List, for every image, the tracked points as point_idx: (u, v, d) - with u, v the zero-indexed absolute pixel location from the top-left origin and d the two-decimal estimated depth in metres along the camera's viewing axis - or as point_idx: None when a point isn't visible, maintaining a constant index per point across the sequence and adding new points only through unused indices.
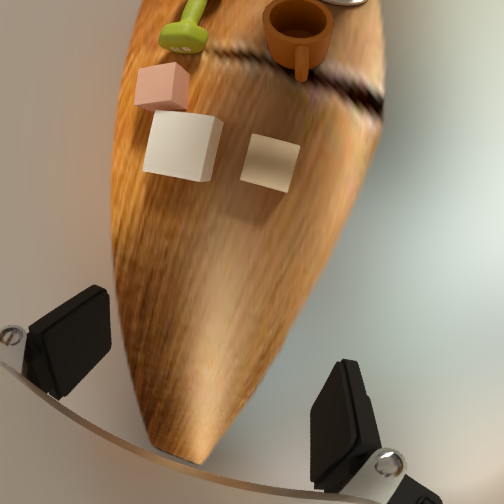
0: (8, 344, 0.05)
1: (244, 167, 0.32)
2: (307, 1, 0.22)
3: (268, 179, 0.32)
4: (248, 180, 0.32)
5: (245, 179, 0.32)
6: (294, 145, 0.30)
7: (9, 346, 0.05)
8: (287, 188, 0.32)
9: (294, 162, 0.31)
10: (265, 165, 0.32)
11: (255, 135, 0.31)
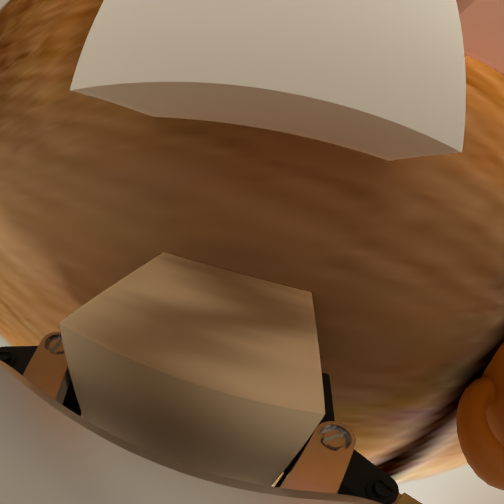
0: (53, 351, 0.06)
1: (113, 357, 0.05)
2: None
3: (104, 423, 0.06)
4: (71, 359, 0.05)
5: (69, 348, 0.05)
6: None
7: (54, 354, 0.06)
8: None
9: None
10: (151, 433, 0.05)
11: (308, 426, 0.05)
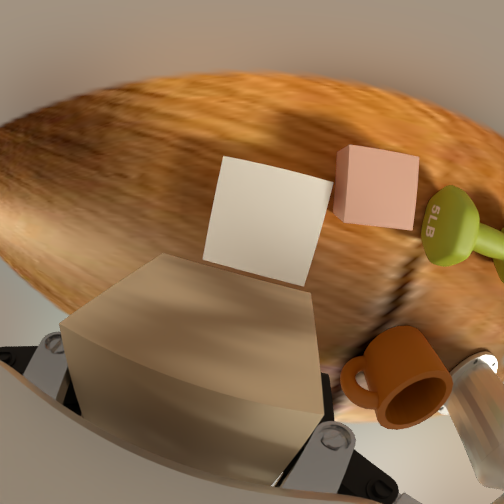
0: (54, 351, 0.06)
1: (113, 358, 0.05)
2: (436, 406, 0.20)
3: (104, 423, 0.06)
4: (71, 360, 0.05)
5: (69, 349, 0.05)
6: None
7: (54, 354, 0.06)
8: None
9: None
10: (151, 433, 0.05)
11: (307, 426, 0.05)
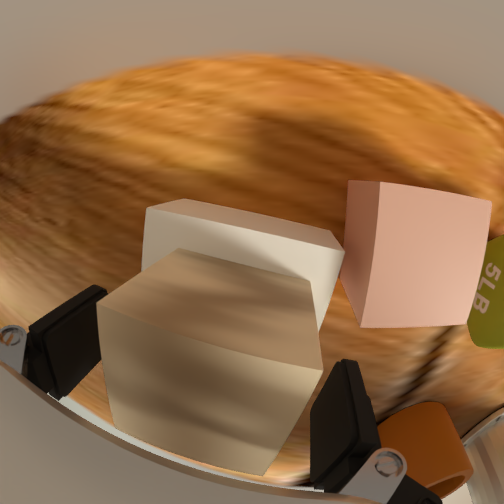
0: (8, 344, 0.05)
1: (147, 329, 0.06)
2: (450, 491, 0.11)
3: (129, 397, 0.07)
4: (104, 336, 0.07)
5: (104, 326, 0.06)
6: (262, 468, 0.07)
7: (9, 346, 0.05)
8: (125, 432, 0.08)
9: (206, 461, 0.08)
10: (174, 402, 0.07)
11: (310, 383, 0.06)
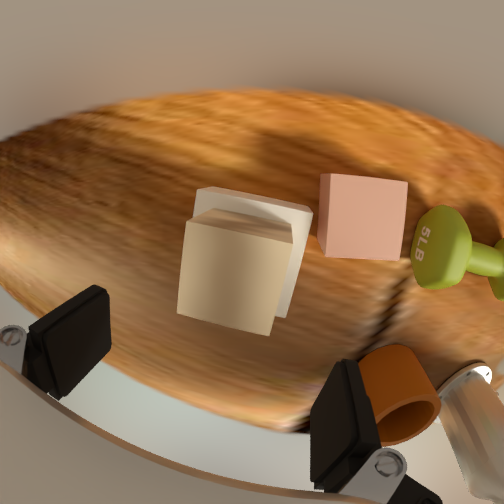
0: (8, 344, 0.05)
1: (213, 229, 0.15)
2: (425, 424, 0.20)
3: (194, 279, 0.16)
4: (187, 239, 0.15)
5: (188, 233, 0.15)
6: (268, 326, 0.16)
7: (9, 346, 0.05)
8: (184, 313, 0.17)
9: (234, 326, 0.16)
10: (221, 273, 0.15)
11: (288, 251, 0.15)
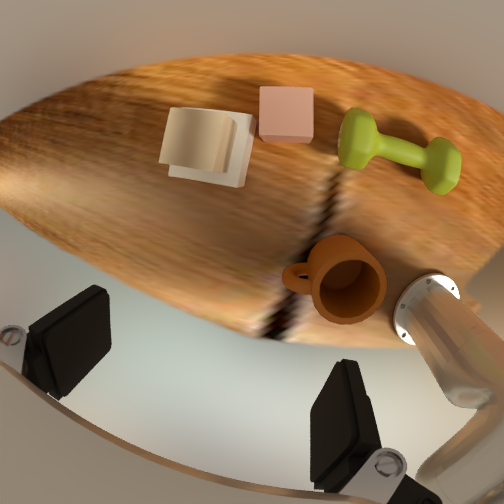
0: (8, 344, 0.05)
1: (184, 109, 0.24)
2: (375, 300, 0.28)
3: (171, 138, 0.25)
4: (170, 116, 0.24)
5: (171, 113, 0.24)
6: (212, 164, 0.25)
7: (9, 346, 0.05)
8: (163, 161, 0.26)
9: (192, 166, 0.25)
10: (186, 133, 0.24)
11: (223, 117, 0.24)
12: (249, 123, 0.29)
